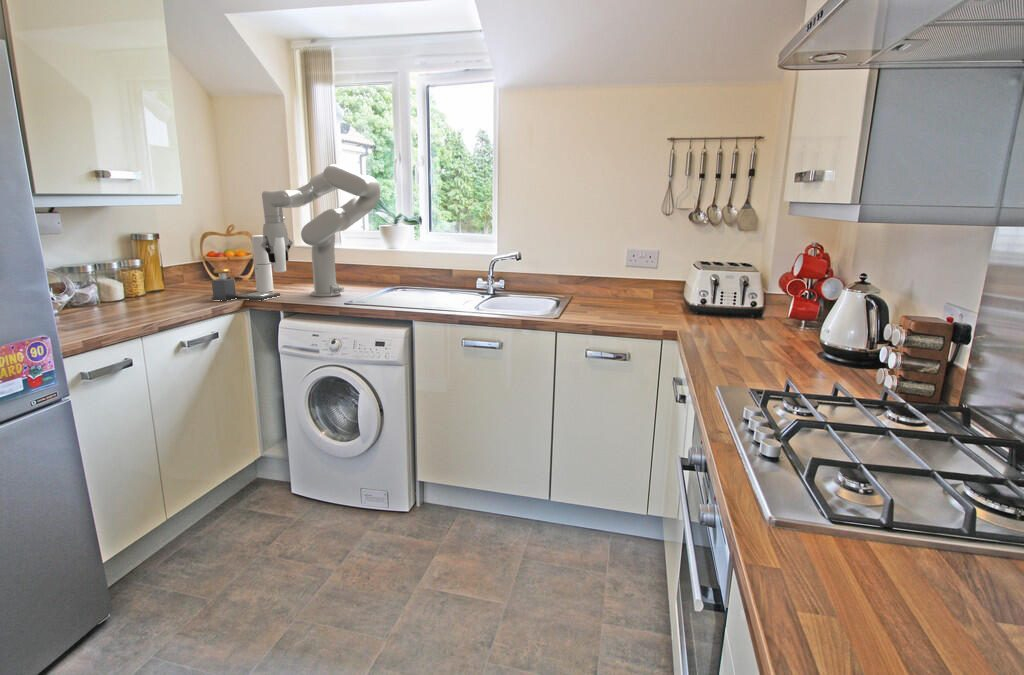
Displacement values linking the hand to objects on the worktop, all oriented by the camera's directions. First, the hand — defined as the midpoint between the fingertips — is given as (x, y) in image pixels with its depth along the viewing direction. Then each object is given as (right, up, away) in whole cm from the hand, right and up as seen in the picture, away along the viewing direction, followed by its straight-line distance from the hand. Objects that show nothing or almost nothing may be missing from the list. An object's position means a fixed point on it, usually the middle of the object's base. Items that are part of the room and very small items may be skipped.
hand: (279, 261), depth 253 cm
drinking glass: (0, -5, +1) cm, 5 cm away
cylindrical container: (-10, -13, +9) cm, 18 cm away
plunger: (-17, -14, -15) cm, 26 cm away
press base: (-9, -17, -10) cm, 22 cm away
